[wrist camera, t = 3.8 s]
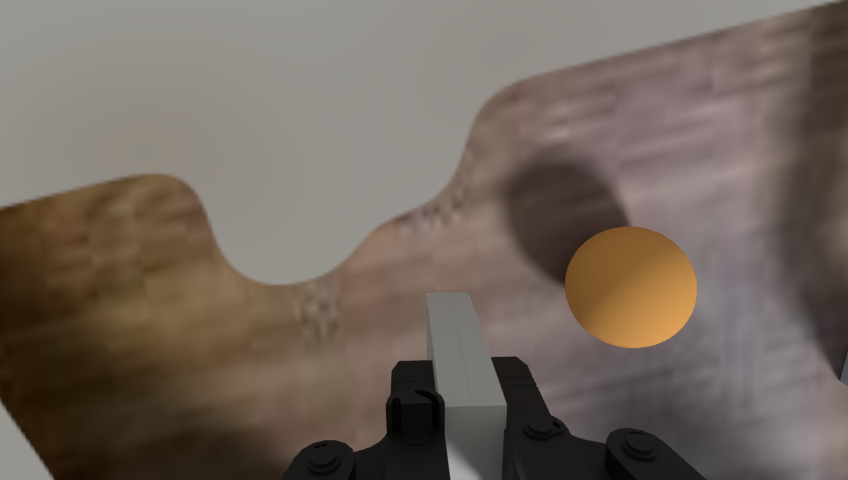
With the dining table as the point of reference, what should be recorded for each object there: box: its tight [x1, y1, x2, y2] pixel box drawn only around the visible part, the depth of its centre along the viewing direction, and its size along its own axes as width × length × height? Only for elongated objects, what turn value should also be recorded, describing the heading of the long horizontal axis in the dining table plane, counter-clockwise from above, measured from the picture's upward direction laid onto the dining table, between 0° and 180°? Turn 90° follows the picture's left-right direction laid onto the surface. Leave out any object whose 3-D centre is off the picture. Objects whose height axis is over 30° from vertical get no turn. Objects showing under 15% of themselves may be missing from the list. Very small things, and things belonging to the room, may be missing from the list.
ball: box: [565, 226, 697, 348], centre depth 21 cm, size 6×6×6 cm
